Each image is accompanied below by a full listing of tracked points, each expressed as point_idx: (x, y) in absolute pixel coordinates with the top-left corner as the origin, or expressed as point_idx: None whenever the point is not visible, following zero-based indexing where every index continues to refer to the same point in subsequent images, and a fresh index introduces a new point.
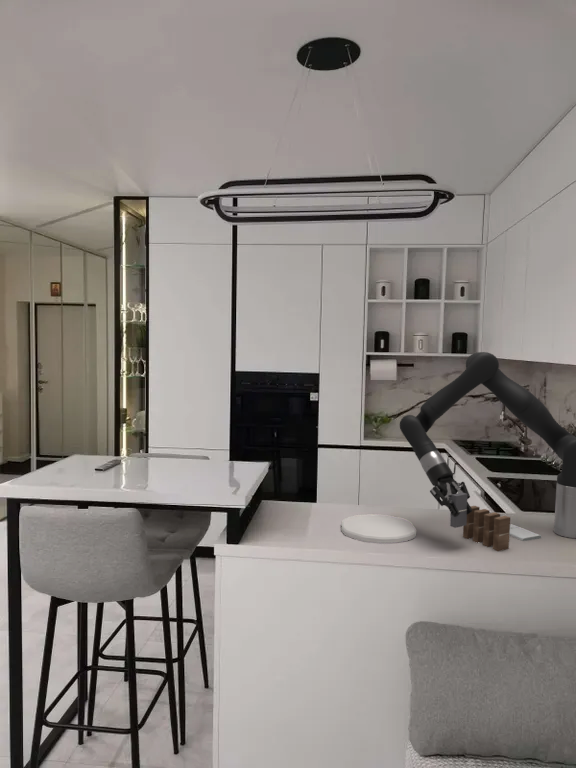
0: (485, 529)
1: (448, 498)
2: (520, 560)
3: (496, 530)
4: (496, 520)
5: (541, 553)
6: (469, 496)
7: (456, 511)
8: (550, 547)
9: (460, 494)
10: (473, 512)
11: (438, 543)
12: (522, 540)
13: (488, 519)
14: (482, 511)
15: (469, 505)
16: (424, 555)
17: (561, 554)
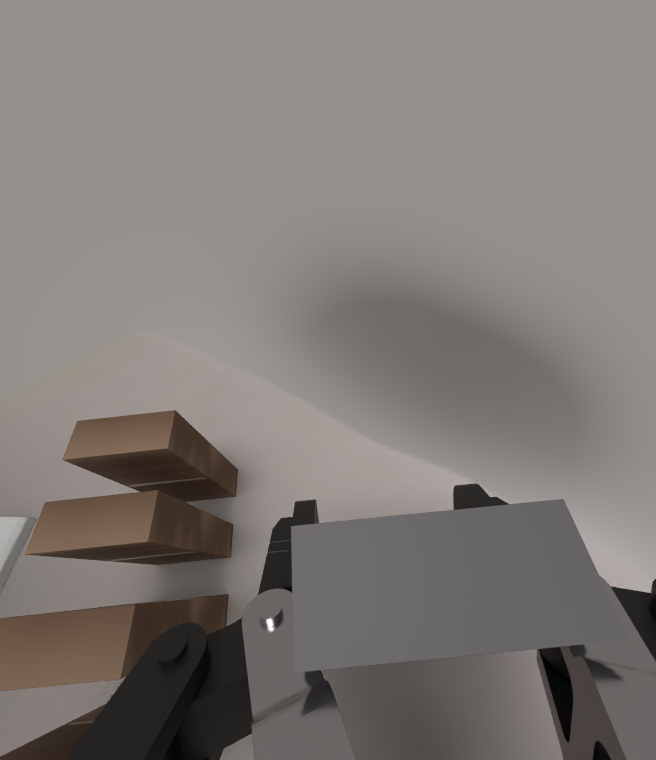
0: (199, 534)
1: (637, 641)
2: (245, 381)
3: (202, 454)
4: (175, 437)
5: (127, 398)
6: (163, 642)
7: (486, 499)
8: (41, 426)
9: (431, 552)
10: (65, 757)
11: (435, 701)
12: (33, 522)
13: (170, 502)
14: (76, 623)
15: (268, 555)
16: (595, 563)
17: (87, 373)
